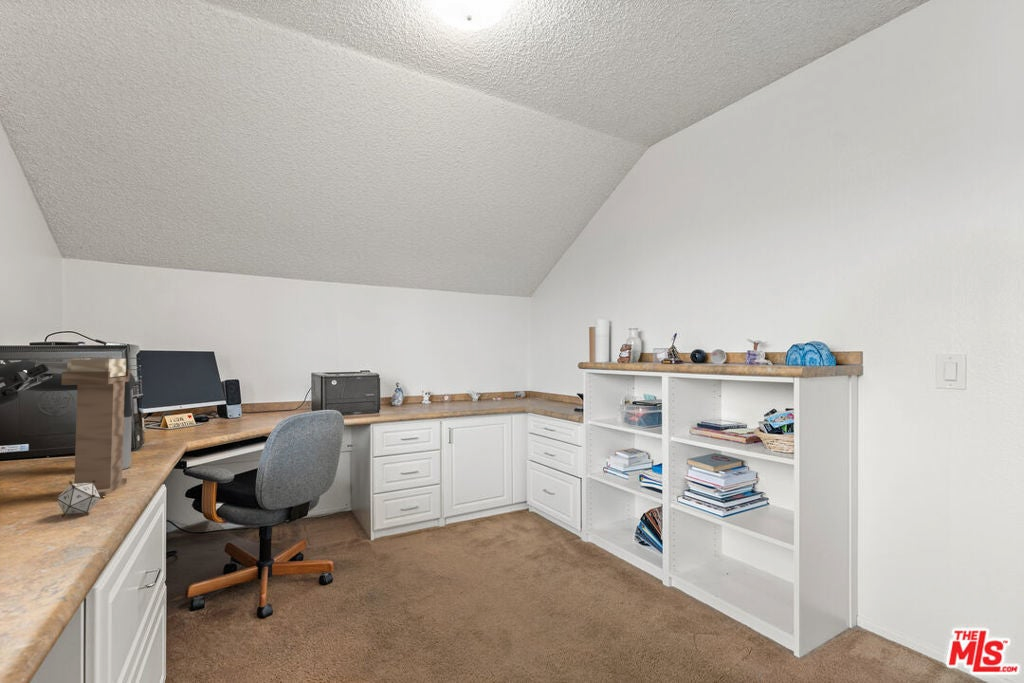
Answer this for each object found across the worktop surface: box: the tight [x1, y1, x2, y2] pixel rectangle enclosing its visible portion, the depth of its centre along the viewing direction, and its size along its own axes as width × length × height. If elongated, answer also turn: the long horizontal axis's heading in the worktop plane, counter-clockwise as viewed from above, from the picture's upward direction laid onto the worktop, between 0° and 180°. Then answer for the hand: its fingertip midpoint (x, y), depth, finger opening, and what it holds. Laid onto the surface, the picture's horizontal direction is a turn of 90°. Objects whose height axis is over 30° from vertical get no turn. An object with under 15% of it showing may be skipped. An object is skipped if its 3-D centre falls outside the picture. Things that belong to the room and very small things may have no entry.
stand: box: [57, 369, 131, 497], centre depth 136 cm, size 15×10×34 cm, turn 21°
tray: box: [34, 358, 127, 377], centre depth 135 cm, size 12×18×5 cm
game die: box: [51, 479, 106, 518], centre depth 117 cm, size 9×8×10 cm
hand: (55, 366), depth 133 cm, fingers open, 8 cm apart
